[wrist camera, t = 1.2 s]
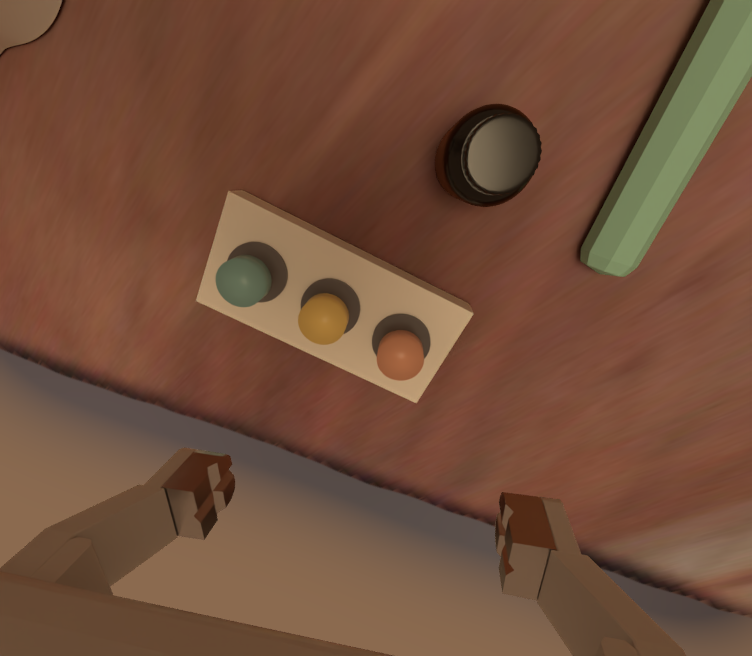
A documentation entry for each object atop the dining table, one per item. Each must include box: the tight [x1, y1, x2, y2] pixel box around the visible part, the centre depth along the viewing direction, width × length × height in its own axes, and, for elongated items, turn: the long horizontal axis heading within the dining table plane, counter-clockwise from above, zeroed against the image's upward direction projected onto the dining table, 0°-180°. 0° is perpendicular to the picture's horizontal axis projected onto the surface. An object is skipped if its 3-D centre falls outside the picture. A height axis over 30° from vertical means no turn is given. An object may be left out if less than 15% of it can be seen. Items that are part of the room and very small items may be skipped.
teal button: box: [215, 255, 272, 307], centre depth 34 cm, size 4×4×2 cm
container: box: [580, 0, 752, 277], centre depth 30 cm, size 6×6×25 cm
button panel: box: [196, 190, 474, 403], centre depth 39 cm, size 26×12×4 cm, turn 64°
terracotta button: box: [377, 330, 424, 381], centre depth 35 cm, size 4×4×2 cm
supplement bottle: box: [435, 104, 542, 207], centre depth 29 cm, size 7×7×12 cm
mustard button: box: [298, 293, 349, 345], centre depth 35 cm, size 4×4×2 cm
